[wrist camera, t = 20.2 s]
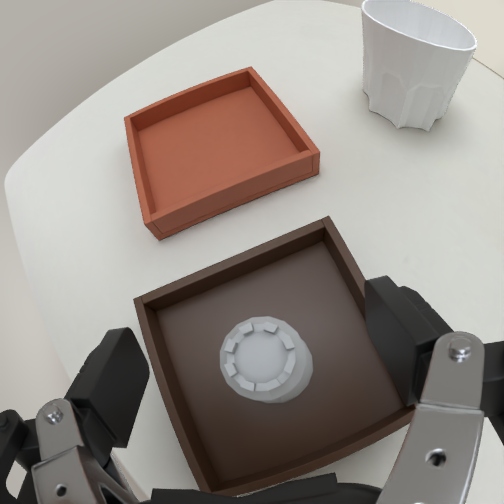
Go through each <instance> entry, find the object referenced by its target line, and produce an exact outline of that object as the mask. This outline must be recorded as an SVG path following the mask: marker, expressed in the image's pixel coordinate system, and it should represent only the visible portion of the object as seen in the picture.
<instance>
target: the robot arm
mask: <svg viewBox="0 0 504 504" xmlns="http://www.w3.org/2000/svg"><path fill="white" fill-rule="evenodd" d="M364 294H365V315H366V326H367V331H368V334H369V337H370V339H371V341H372V342H373V344H374V346H375V348H376V350H377V351H378V353H379V355H380V357H381V359H382V360H383V362H384V364H385V366H386V368H387V370H388V372H389V373H390V375H391V377H392V379H393V381H394V383H395V385H396V387H397V389H398V390H399V392H400V394H401V396H402V398H403V400H404V402H405V404H406V406H409V405H412V404H414V403H417V402H418V403H417V406H416V409H415V412H414V415H413V418H412V420H411V423H410V426H409V429H408V432H407V434H406V437H405V439H404V442H403V445H402V447H401V450H400V452H399V455H398V457H397V459H396V462H395V464H394V466H393V469H392V471H391V473H390V475H389V477H388V480H387V482H386V484H385V486H384V488H383V489H381V488H378V487H374V486H370V485H365V484H358V483H337V478H336V474H335V472H334V473H329V474H325V475H320V476H316V477H311V478H306V479H300V480H294V481H288V482H285V483H283V484H280V485H277V486H274V487H271V488H268V489H266V490H263V491H259V492H256V493H253V494H250V495H247V496H243V497H230V496H224V495H218V494H213V493H208V492H203V491H198V490H193V489H155V488H153V490H152V495H151V500H147V501H143V502H139V500H138V499H137V498H136V497H135V495H134V494H133V491H132V490H131V488H130V486H129V484H128V482H127V480H126V479H125V477H124V475H123V473H122V471H121V469H120V467H119V465H118V463H117V461H116V459H115V457H114V456H113V455H112V454H111V450H112V447H117V448H127V445H128V441H129V438H130V435H131V432H132V429H133V425H134V422H135V419H136V416H137V413H138V410H139V407H140V403H141V400H142V397H143V394H144V391H145V388H146V385H147V382H148V379H149V374H150V372H149V365H148V362H147V360H146V358H145V356H144V354H143V352H142V350H141V348H140V346H139V344H138V341H137V339H136V337H135V335H134V333H133V331H132V330H131V329H130V328H128V327H125V328H119V329H111V330H108V332H107V333H106V335H105V336H104V338H103V340H102V341H101V343H100V345H98V346H97V347H96V348H95V349H94V350H93V351H92V352H91V353H90V354H89V356H88V357H87V359H86V361H85V362H84V365H83V366H82V367H81V369H80V371H79V372H80V373H78V374H77V376H76V378H75V379H74V381H73V383H72V385H71V386H70V388H69V390H68V392H67V393H66V395H65V397H64V399H62V398H59V399H54V400H52V401H50V402H48V403H46V404H45V405H44V406H43V407H42V408H41V409H40V410H39V412H38V414H37V416H36V418H35V419H30V420H25V421H24V420H23V419H22V418H21V417H20V416H19V414H18V413H17V412H16V411H15V410H6V411H3V412H1V413H0V504H465V502H466V499H467V496H468V492H469V489H470V485H471V481H472V477H473V473H474V469H475V465H476V461H477V456H478V451H479V446H480V441H481V435H482V429H483V422H484V417H488V418H489V420H490V422H491V423H492V425H493V427H494V429H495V431H496V432H497V434H498V436H499V438H500V440H501V442H502V444H503V445H504V341H500V342H494V343H487V344H483V343H482V341H481V340H480V339H479V338H478V337H476V336H475V335H473V334H470V333H467V332H460V331H457V332H454V331H453V330H452V329H451V328H450V327H449V325H448V324H447V323H446V322H445V321H444V320H443V319H442V318H441V317H440V316H439V315H438V313H437V312H436V311H435V310H434V309H432V308H431V306H430V305H429V304H428V303H427V302H425V300H424V299H423V298H422V297H421V296H420V294H419V293H418V292H417V291H414V290H412V289H410V288H408V287H406V286H402V287H398V286H397V285H396V284H395V283H394V282H393V281H392V280H391V279H390V278H389V277H388V276H387V275H386V276H382V277H378V278H374V279H370V280H366V281H365V283H364ZM15 460H16V461H17V462H18V463H19V464H20V465H21V466H22V467H23V468H24V469H25V470H26V471H27V474H26V476H25V479H24V481H23V484H22V487H21V489H20V492H19V495H18V498H17V499H16V498H15V497H13V496H12V495H11V494H10V493H9V492H8V490H7V487H6V479H7V477H8V474H9V472H10V470H11V467H12V465H13V463H14V461H15Z"/></svg>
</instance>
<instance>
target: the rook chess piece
mask: <svg viewBox="0 0 504 504" xmlns="http://www.w3.org/2000/svg"><path fill="white" fill-rule="evenodd" d="M220 369H221V371H222V373H223V376H224V378H225V380H226V382H227V384H228V385H229V386H230V387H232V388H233V389H234V390H235V391H236V392H237V393H238V394H239V395H242V396H244V397H247V398H250V399H252V400H255V401H256V400H259V401H262V402H265V403H268V404H269V403H284V402H287V401H289V400H291V399H293V398H295V397H297V396H298V395H299V394H300V393H301V392H302V391H303V390H304V389H305V388H306V387H307V386H308V384H309V381H310V378H311V375H312V373H313V362H312V355H311V353H310V351H309V349H308V347H307V345H306V343H305V342H304V341H303V340H302V339H301V338H300V336H299V334H298V332H297V331H295V330H294V329H293V328H292V327H291V326H290V325H288V324H287V323H286V322H285V321H282V320H279V319H276V318H272V317H269V316H266V317H252V318H250V319H248V320H246V321H244V322H241V323H239V324H237V325H236V326H235V327H234V328H233V329H232V330H231V332H230V333H229V334H228V335H227V336H226V337H225V340H224V342H223V345H222V347H221V350H220Z"/></svg>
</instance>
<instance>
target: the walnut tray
mask: <svg viewBox="0 0 504 504" xmlns="http://www.w3.org/2000/svg"><path fill="white" fill-rule="evenodd" d="M365 281H366V280H365V278H364V276H363V274H362V273H361V271H360V269H359V267H358V265H357V263H356V262H355V260H354V258H353V256H352V254H351V253H350V251H349V249H348V247H347V246H346V244H345V242H344V240H343V239H342V237H341V235H340V233H339V232H338V230H337V228H336V227H335V225H334V223H333V222H332V220H331V218H330V217H329V216H327V217H325V218H322V219H321V220H318V221H315V222H313V223H311V224H308V225H306V226H303V227H301V228H299V229H296V230H294V231H292V232H289V233H287V234H285V235H282V236H280V237H278V238H275V239H273V240H270V241H268V242H266V243H263V244H261V245H259V246H256V247H254V248H252V249H249V250H247V251H245V252H242V253H240V254H238V255H235V256H233V257H231V258H228V259H226V260H223V261H221V262H219V263H216V264H214V265H212V266H209V267H207V268H205V269H202V270H200V271H198V272H195V273H193V274H191V275H188V276H186V277H184V278H181V279H179V280H177V281H174V282H172V283H170V284H167V285H165V286H163V287H160V288H158V289H156V290H153V291H151V292H149V293H146V294H144V295H142V296H139V297H137V298H135V299H133V300H134V304H135V308H136V312H137V316H138V320H139V324H140V327H141V331H142V335H143V338H144V342H145V345H146V349H147V352H148V355H149V359H150V362H151V365H152V368H153V371H154V374H155V378H156V381H157V384H158V387H159V390H160V393H161V395H162V398H163V401H164V404H165V407H166V409H167V412H168V415H169V418H170V420H171V423H172V426H173V428H174V431H175V433H176V436H177V438H178V441H179V443H180V446H181V448H182V451H183V453H184V455H185V458H186V460H187V462H188V465H189V467H190V469H191V471H192V474H193V476H194V478H195V480H196V482H197V485H198V487H199V489H200V491H203V492H208V493H213V494H218V495H224V496H230V497H233V496H237V495H240V494H244V493H248V492H251V491H255V490H258V489H262V488H265V487H268V486H272V485H275V484H278V483H281V482H284V481H287V480H290V479H292V478H295V477H298V476H301V475H303V474H306V473H309V472H311V471H314V470H316V469H319V468H321V467H324V466H326V465H328V464H331V463H333V462H335V461H338V460H340V459H342V458H344V457H346V456H349V455H351V454H353V453H355V452H357V451H359V450H361V449H363V448H365V447H367V446H369V445H371V444H373V443H375V442H377V441H379V440H381V439H382V438H384V437H386V436H388V435H390V434H392V433H393V432H395V431H397V430H399V429H400V428H402V427H404V426H405V425H407V424H409V423H410V422H411V420H412V418H413V415H414V412H415V409H416V406H417V403H418V402H417V403H414V404H412V405H409V406H406V404H405V402H404V400H403V398H402V396H401V394H400V392H399V390H398V389H397V387H396V385H395V383H394V381H393V379H392V377H391V375H390V373H389V372H388V370H387V368H386V366H385V364H384V362H383V360H382V359H381V357H380V355H379V353H378V351H377V350H376V348H375V346H374V344H373V342H372V341H371V339H370V337H369V334H368V331H367V326H366V315H365V294H364V283H365ZM266 316H269V317H272V318H276V319H279V320H282V321H285V322H286V323H287V324H288V325H290V326H291V327H292V328H293V329H294V330H295V331H297V332H298V334H299V336H300V338H301V339H302V340H303V341H304V342H305V343H306V345H307V347H308V349H309V351H310V353H311V355H312V362H313V373H312V375H311V378H310V381H309V384H308V386H307V387H306V388H305V389H304V390H303V391H302V392H301V393H300V394H299V395H298V396H297V397H295V398H293V399H291V400H289V401H287V402H284V403H269V404H268V403H265V402H262V401H259V400H256V401H255V400H252V399H250V398H247V397H244V396H242V395H239V394H238V393H237V392H236V391H235V390H234V389H233V388H232V387H230V386H229V385H228V384H227V382H226V380H225V378H224V376H223V373H222V371H221V369H220V350H221V347H222V345H223V342H224V340H225V337H226V336H227V335H228V334H229V333H230V332H231V330H232V329H233V328H234V327H235V326H236V325H237V324H239V323H241V322H244V321H246V320H248V319H250V318H252V317H266Z"/></svg>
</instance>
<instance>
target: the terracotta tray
mask: <svg viewBox="0 0 504 504" xmlns="http://www.w3.org/2000/svg"><path fill="white" fill-rule="evenodd" d="M124 121H125V127H126V134H127V140H128V146H129V152H130V157H131V163H132V168H133V173H134V178H135V183H136V188H137V193H138V198H139V203H140V207H141V212H142V216H143V221H144V225H145V226H146V227H147V228H148V229H149V230H150V231H151V232H152V234H153V235H154V236H155V237H156V238H157V239H158V240H161V239H163V238H166V237H168V236H170V235H172V234H174V233H177V232H179V231H181V230H183V229H186V228H188V227H190V226H192V225H195V224H197V223H199V222H202V221H204V220H206V219H209V218H211V217H213V216H216V215H218V214H220V213H223V212H225V211H227V210H230V209H232V208H234V207H237V206H239V205H242V204H244V203H246V202H249V201H251V200H254V199H256V198H259V197H261V196H263V195H266V194H268V193H271V192H273V191H276V190H278V189H281V188H283V187H286V186H288V185H291V184H293V183H296V182H299V181H301V180H304V179H306V178H309V177H311V176H314V175H317V174H319V164H320V151H319V150H318V148H317V147H316V146H315V144H314V143H313V142H312V140H311V139H310V138H309V136H308V135H307V134H306V132H305V131H304V130H303V128H302V127H301V126H300V125H299V123H298V122H297V121H296V119H295V118H294V117H293V116H292V114H291V113H290V112H289V111H288V109H287V108H286V107H285V106H284V104H283V103H282V102H281V101H280V99H279V98H278V97H277V96H276V95H275V93H274V92H273V91H272V90H271V89H270V87H269V86H268V85H267V84H266V83H265V82H264V80H263V79H262V78H261V77H260V76H259V75H258V73H257V72H256V71H255V70H254V69H253V68H252V67H248V68H245V69H241V70H238V71H235V72H232V73H229V74H226V75H223V76H220V77H218V78H215V79H212V80H209V81H207V82H204V83H201V84H199V85H196V86H193V87H191V88H188V89H186V90H183V91H181V92H179V93H176V94H174V95H171V96H169V97H167V98H164V99H162V100H160V101H158V102H155V103H153V104H151V105H149V106H147V107H145V108H143V109H140V110H138V111H136V112H134V113H132V114H130V115H128V116H126V117H124Z"/></svg>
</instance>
